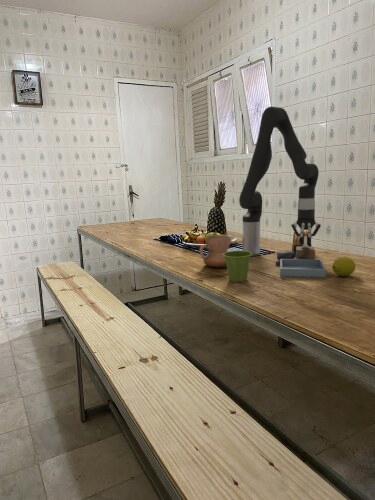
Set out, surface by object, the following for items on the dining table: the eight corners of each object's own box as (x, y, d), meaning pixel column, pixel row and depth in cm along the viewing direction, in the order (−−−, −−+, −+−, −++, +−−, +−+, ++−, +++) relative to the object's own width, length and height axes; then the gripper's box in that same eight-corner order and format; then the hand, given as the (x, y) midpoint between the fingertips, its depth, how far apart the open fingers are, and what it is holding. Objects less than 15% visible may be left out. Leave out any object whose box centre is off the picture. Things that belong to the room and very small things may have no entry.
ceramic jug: (228, 260, 191) (227, 232, 189) (241, 266, 178) (240, 236, 175) (195, 265, 186) (193, 236, 183) (205, 272, 173) (204, 241, 170)
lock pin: (301, 257, 180) (302, 232, 177) (301, 256, 182) (302, 231, 180) (308, 258, 179) (309, 232, 176) (308, 256, 182) (308, 231, 179)
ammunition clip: (309, 252, 202) (310, 230, 200) (311, 253, 201) (312, 230, 198) (291, 254, 200) (291, 231, 197) (293, 255, 198) (293, 232, 196)
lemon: (347, 272, 162) (348, 254, 161) (360, 277, 155) (361, 257, 153) (325, 275, 159) (326, 256, 158) (337, 280, 152) (338, 260, 150)
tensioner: (275, 265, 179) (275, 250, 177) (275, 259, 190) (276, 245, 188) (316, 266, 174) (316, 251, 173) (313, 259, 186) (314, 245, 184)
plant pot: (229, 275, 165) (228, 249, 163) (255, 277, 160) (255, 251, 158) (219, 282, 155) (218, 255, 152) (247, 285, 150) (247, 257, 147)
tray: (280, 276, 160) (280, 268, 159) (280, 266, 177) (280, 258, 176) (325, 278, 155) (326, 269, 155) (321, 266, 172) (321, 259, 172)
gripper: (290, 209, 174) (290, 246, 177) (323, 208, 171) (321, 246, 174) (290, 207, 181) (289, 243, 185) (321, 206, 178) (320, 243, 181)
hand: (305, 244), depth 179 cm, fingers closed on lock pin, 2 cm apart
